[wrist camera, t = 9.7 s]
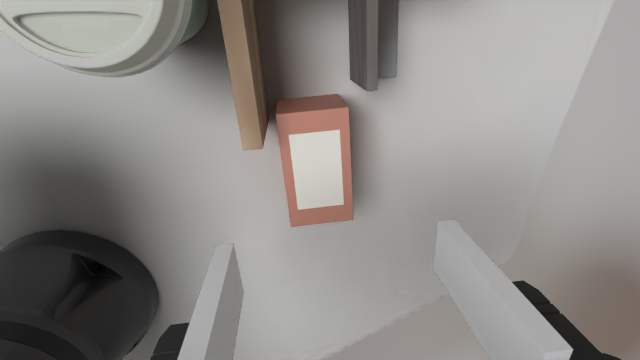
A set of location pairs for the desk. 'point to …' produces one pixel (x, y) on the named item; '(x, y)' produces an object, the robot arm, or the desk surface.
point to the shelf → (246, 66)
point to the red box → (316, 158)
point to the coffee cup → (102, 31)
